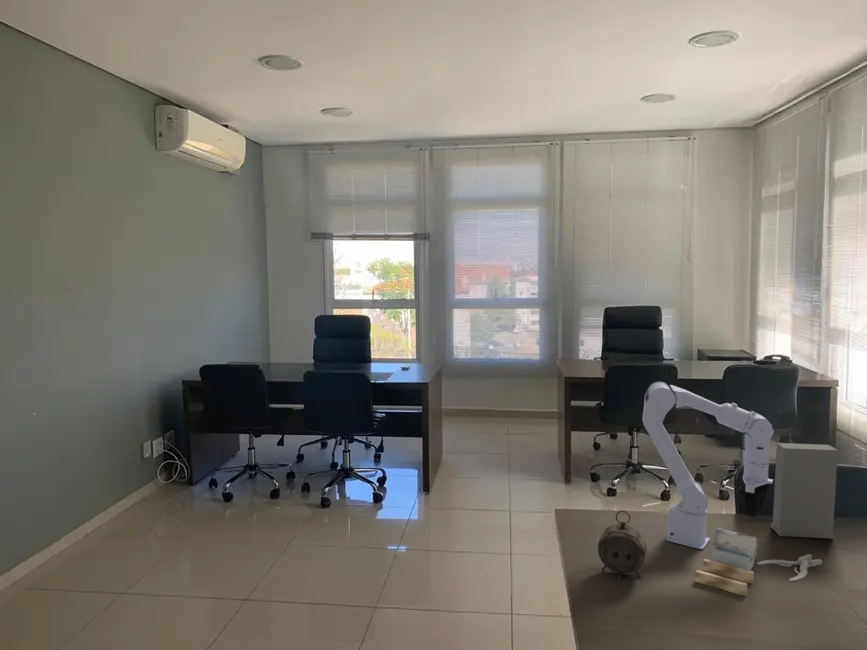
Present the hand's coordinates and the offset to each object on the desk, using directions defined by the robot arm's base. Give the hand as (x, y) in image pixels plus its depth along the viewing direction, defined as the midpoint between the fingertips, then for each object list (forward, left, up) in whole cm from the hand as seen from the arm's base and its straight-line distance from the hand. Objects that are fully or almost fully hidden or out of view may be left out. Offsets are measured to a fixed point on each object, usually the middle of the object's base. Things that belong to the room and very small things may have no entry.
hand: (754, 511), depth 166 cm
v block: (-2, -14, -10) cm, 17 cm away
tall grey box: (+9, +18, -10) cm, 23 cm away
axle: (-1, -14, -6) cm, 15 cm away
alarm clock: (-22, -36, -10) cm, 43 cm away
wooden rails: (-1, -24, -10) cm, 26 cm away
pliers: (+11, -6, -10) cm, 16 cm away
